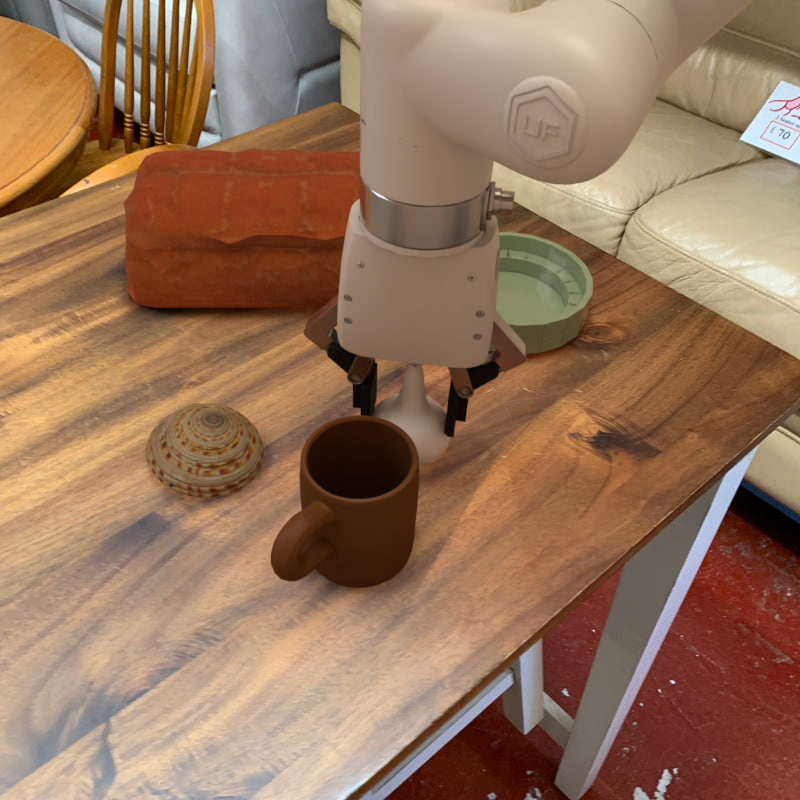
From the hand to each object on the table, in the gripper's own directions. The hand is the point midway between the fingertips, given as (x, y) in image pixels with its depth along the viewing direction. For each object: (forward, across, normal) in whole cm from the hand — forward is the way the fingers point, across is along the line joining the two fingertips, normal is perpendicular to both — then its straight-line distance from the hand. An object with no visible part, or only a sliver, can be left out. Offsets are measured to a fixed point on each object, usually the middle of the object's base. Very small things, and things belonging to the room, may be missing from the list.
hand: (409, 416), depth 61 cm
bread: (+4, +16, -22) cm, 28 cm away
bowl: (+4, -7, -20) cm, 22 cm away
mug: (+4, +3, +11) cm, 12 cm away
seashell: (+4, +15, +3) cm, 16 cm away
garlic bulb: (+3, 0, 0) cm, 3 cm away
